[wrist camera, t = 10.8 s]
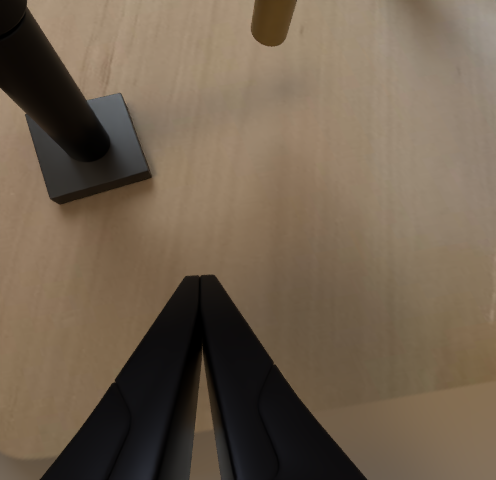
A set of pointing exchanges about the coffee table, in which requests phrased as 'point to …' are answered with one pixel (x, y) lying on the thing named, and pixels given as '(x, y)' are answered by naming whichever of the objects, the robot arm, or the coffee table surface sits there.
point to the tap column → (68, 119)
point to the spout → (262, 27)
